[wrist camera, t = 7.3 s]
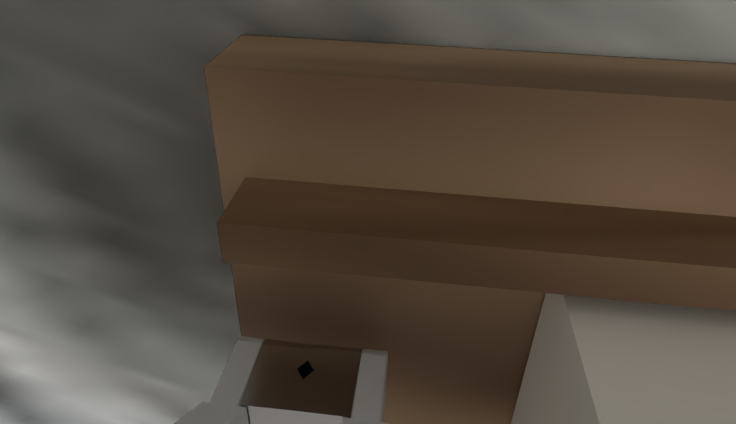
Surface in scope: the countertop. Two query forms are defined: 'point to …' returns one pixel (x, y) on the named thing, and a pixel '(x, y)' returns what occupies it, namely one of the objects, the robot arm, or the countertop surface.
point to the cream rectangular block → (629, 364)
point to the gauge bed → (464, 201)
